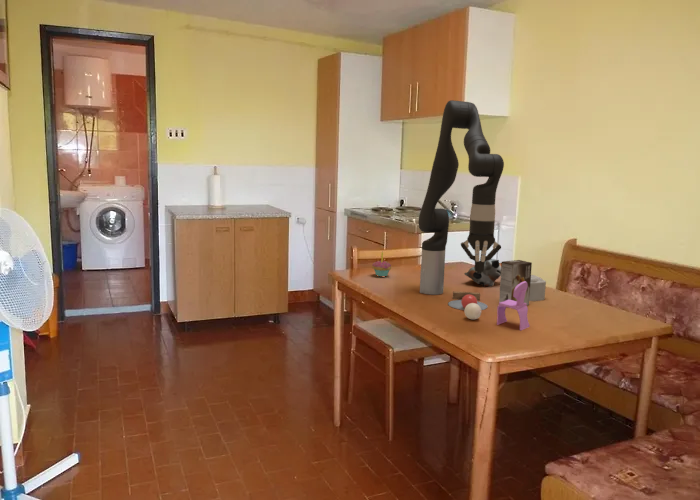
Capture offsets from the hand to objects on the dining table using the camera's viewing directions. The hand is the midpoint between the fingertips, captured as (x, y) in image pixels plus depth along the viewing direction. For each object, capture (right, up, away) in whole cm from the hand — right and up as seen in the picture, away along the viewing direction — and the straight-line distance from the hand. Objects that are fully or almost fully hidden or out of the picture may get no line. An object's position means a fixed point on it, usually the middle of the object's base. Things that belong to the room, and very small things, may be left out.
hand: (479, 272), depth 174 cm
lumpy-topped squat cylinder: (+27, -11, +39) cm, 49 cm away
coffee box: (+19, -13, +28) cm, 37 cm away
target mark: (+2, -13, +25) cm, 29 cm away
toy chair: (+11, -17, +3) cm, 21 cm away
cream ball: (0, -13, +8) cm, 15 cm away
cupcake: (-27, -5, +70) cm, 75 cm away
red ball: (+1, -11, +19) cm, 22 cm away
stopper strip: (+3, -11, +34) cm, 36 cm away
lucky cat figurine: (+16, -7, +60) cm, 63 cm away
